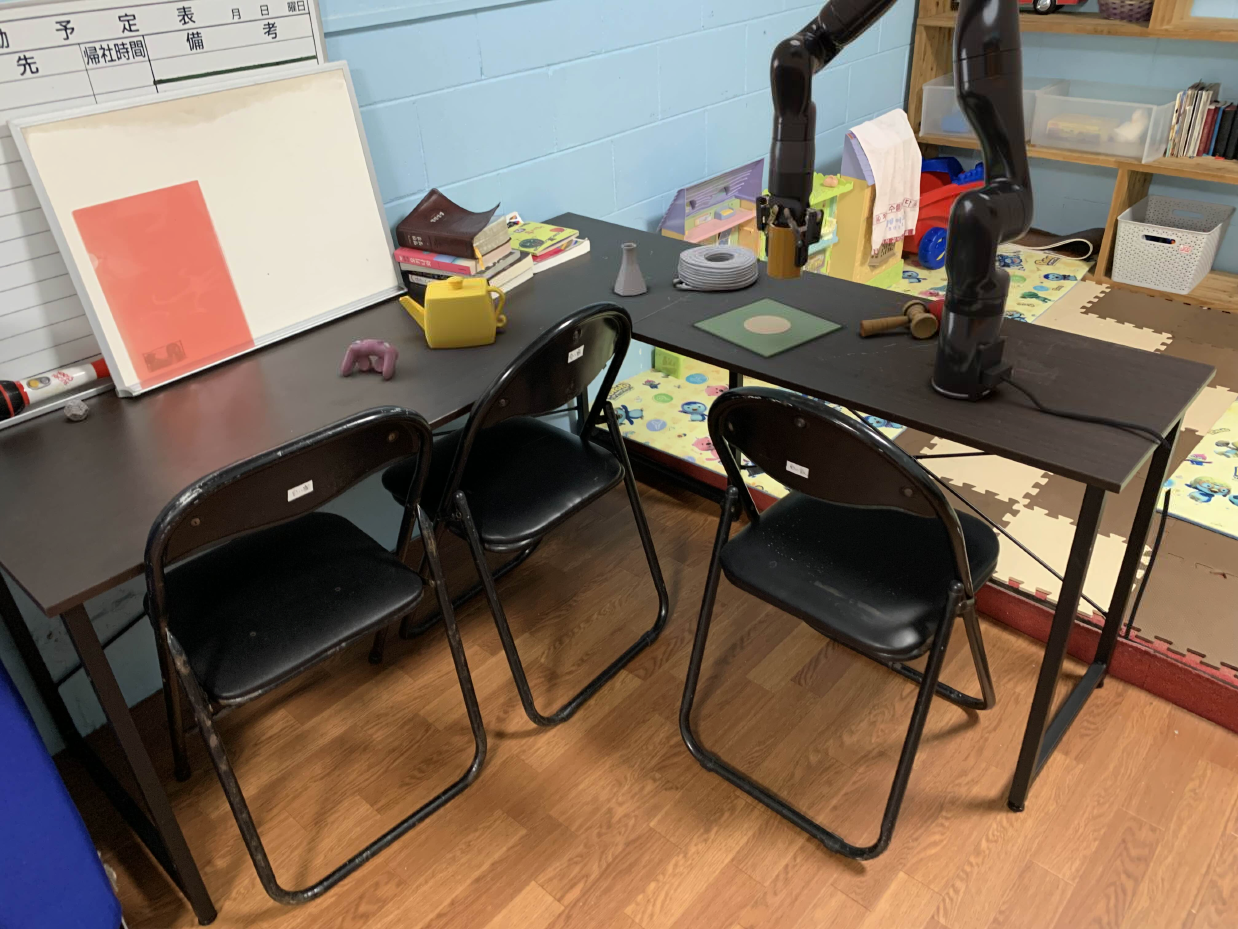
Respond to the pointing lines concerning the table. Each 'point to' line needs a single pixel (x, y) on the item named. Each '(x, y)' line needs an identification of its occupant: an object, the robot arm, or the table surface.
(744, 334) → the mat
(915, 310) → the kendama
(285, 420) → the table surface
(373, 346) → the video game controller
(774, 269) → the cup
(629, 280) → the flask
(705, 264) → the cable
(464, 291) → the teapot
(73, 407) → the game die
